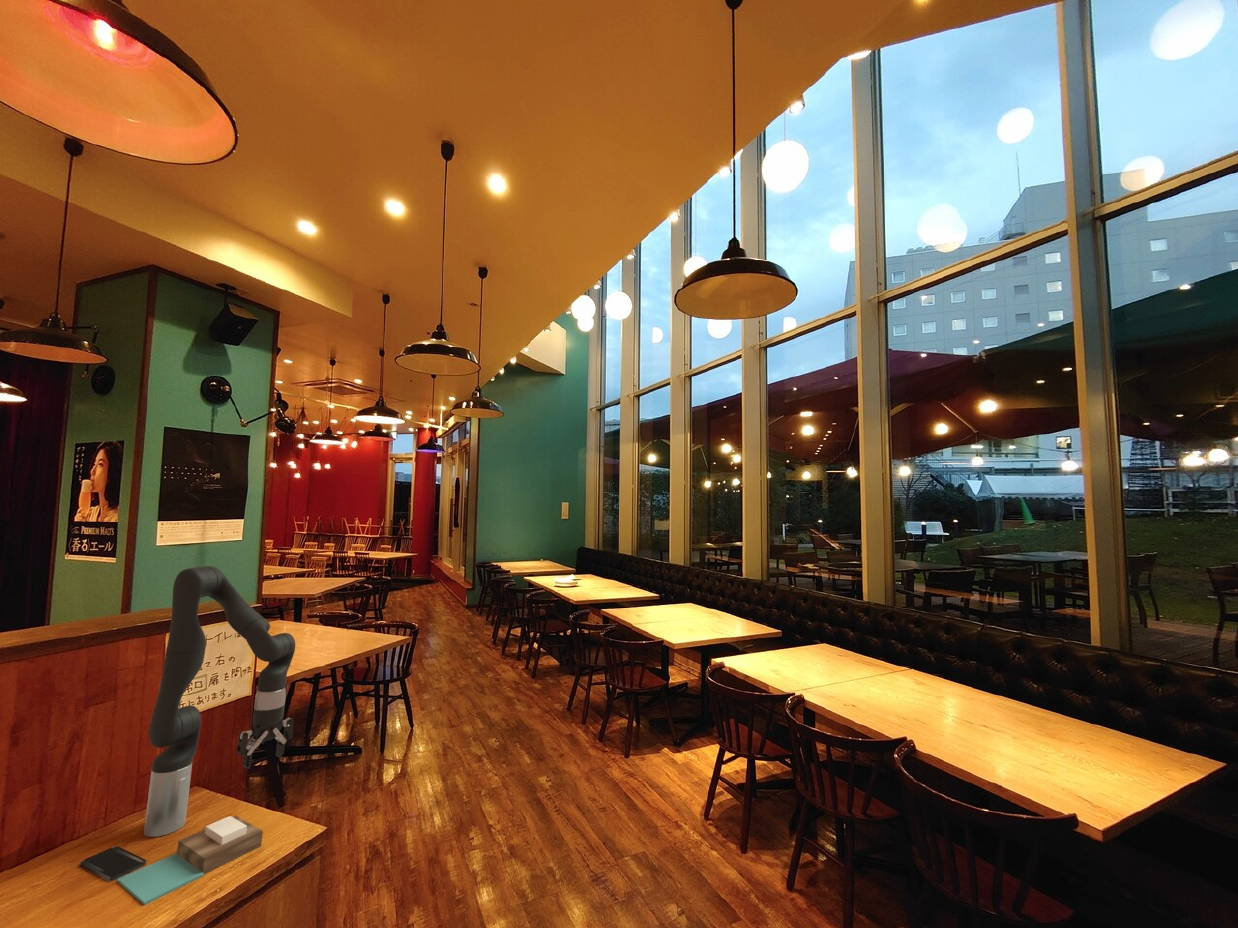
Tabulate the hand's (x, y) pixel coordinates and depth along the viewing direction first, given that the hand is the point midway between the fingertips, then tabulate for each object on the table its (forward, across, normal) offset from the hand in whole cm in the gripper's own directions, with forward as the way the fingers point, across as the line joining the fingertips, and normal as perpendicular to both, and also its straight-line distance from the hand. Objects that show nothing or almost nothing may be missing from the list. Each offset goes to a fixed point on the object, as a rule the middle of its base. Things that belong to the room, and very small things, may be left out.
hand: (263, 761), depth 153 cm
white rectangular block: (+15, +8, 0) cm, 17 cm away
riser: (+20, +9, 0) cm, 22 cm away
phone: (+21, +26, -17) cm, 37 cm away
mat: (+20, +22, 0) cm, 30 cm away
